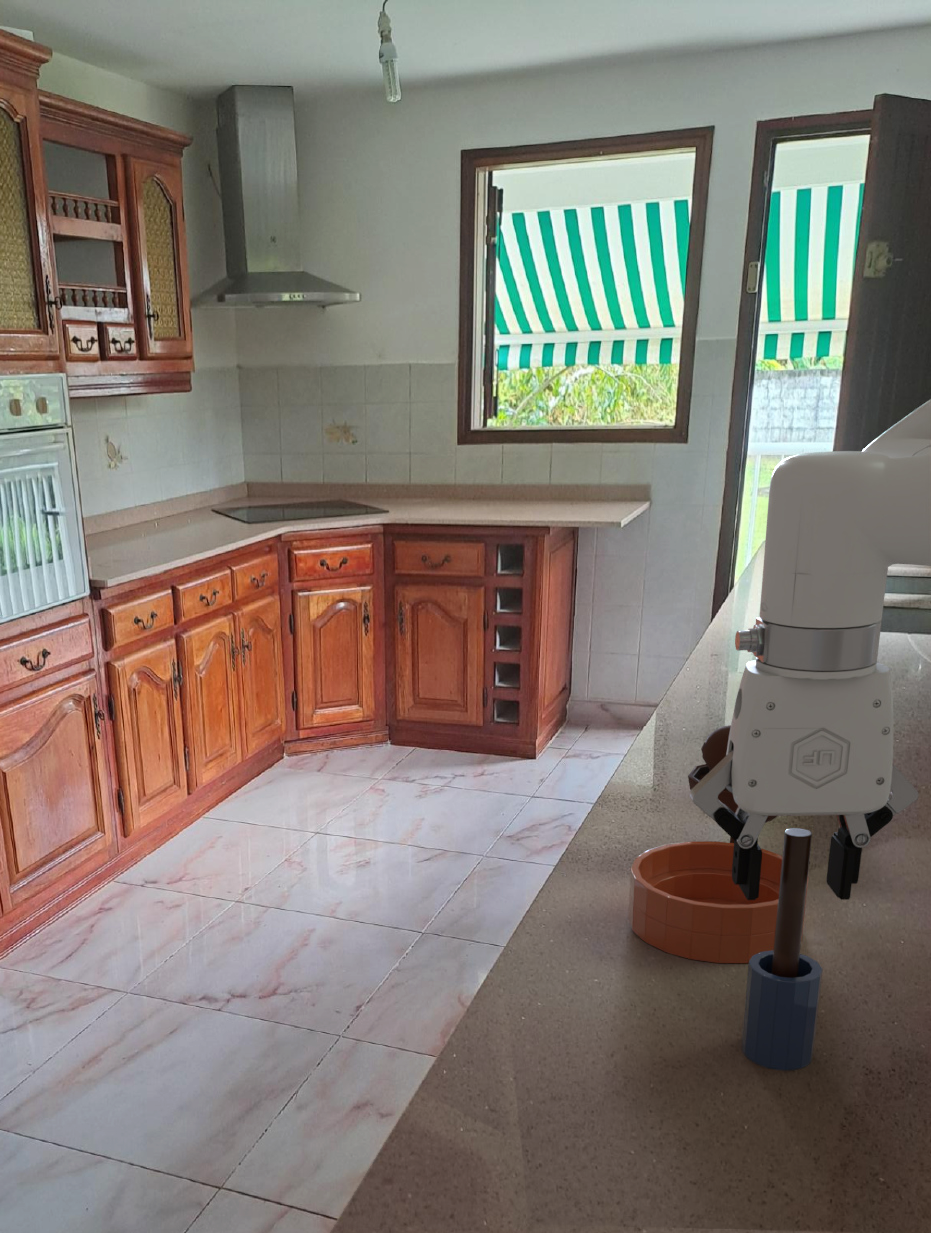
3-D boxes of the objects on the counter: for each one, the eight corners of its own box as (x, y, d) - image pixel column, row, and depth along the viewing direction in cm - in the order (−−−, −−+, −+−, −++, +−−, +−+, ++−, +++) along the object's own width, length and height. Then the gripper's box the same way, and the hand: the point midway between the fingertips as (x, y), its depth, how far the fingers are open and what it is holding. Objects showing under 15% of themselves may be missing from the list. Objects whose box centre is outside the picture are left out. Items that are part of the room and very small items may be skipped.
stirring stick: (785, 1045, 89) (807, 827, 83) (792, 1058, 88) (815, 836, 81) (761, 1045, 89) (781, 827, 83) (767, 1058, 88) (788, 837, 81)
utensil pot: (800, 1041, 91) (810, 949, 88) (820, 1077, 86) (831, 982, 83) (734, 1040, 91) (742, 949, 89) (750, 1076, 87) (759, 982, 84)
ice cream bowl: (761, 889, 117) (774, 747, 112) (663, 861, 125) (671, 727, 120) (811, 858, 124) (825, 723, 118) (715, 833, 131) (724, 705, 126)
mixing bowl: (776, 896, 115) (781, 840, 113) (823, 969, 101) (830, 907, 99) (618, 897, 117) (620, 842, 115) (643, 969, 103) (646, 908, 101)
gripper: (695, 662, 75) (680, 915, 81) (976, 654, 73) (938, 914, 79) (674, 637, 82) (661, 872, 88) (930, 629, 80) (898, 870, 86)
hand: (792, 890), depth 84 cm, fingers open, 5 cm apart
